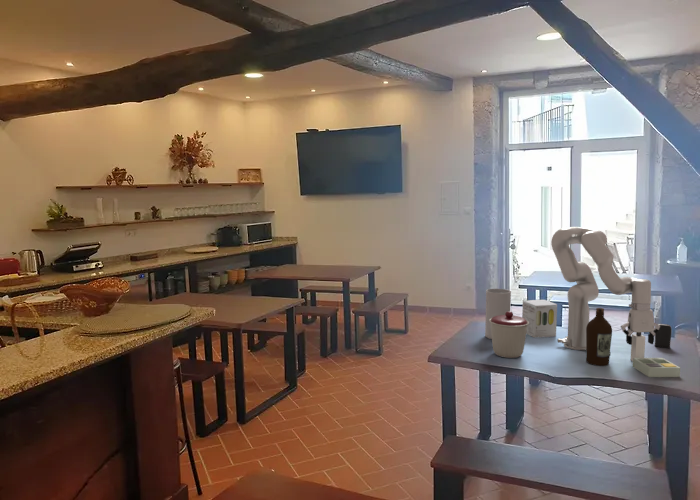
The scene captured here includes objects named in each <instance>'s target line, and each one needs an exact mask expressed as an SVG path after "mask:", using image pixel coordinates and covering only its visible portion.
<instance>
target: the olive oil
mask: <svg viewBox="0 0 700 500" xmlns="http://www.w3.org/2000/svg"><path fill="white" fill-rule="evenodd" d="M612 336H613V329H612V325H611V324H610V323H609V321H608V320H607V319H606V318H605V308H602V307H596V309H595V316H594V317H593V318H591V320H589V323H588V324H587V327H586V350H585V351H586V352H585V354H586V357H585V361H586V363H587V364H589V365H592V366H597V367H598V366H599V367H604V366H605V367H606V366H609V364H610V358H611V357H610V356H611V346H612Z"/></svg>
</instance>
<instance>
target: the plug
mask: <svg viewBox="0 0 700 500" xmlns="http://www.w3.org/2000/svg"><path fill="white" fill-rule="evenodd" d="M631 336H632V344H631V345H630V348H631V349H630V361H632V362H633V358H645V351H646V350H645V349H646V335H645V336H644V335H643V334H642V332H635V334H634V333H632V334H631Z"/></svg>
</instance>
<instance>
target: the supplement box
mask: <svg viewBox="0 0 700 500" xmlns="http://www.w3.org/2000/svg"><path fill="white" fill-rule="evenodd" d="M557 313H558V304H557V303H554V302H552V301H549V300H547V299H531V300H522V314H521V315H522V316H521V317H522V318H524V319H526V320H527V321H529V324H528V325H527V333H526V335H529V336H530V337H532V338H534V339H535V338H551V337H557V326H558V325H557V323H558V322H557V321H558V314H557Z"/></svg>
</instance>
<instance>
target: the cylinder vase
mask: <svg viewBox="0 0 700 500" xmlns="http://www.w3.org/2000/svg"><path fill="white" fill-rule="evenodd" d="M485 291H486V292H485V293H486V294H485V327H484V332H485V333H484V335H485V336H484V337H486V338H487V339H490V340H492V334H491V323H490V322H489V319H491V318H493V317H494V316H498V315H505V313H506V312H507V311H511V308H512V307H511V306H512V305H511V303H512V302H511V301H512V300H511V299H512V297H511V296H512V290H510V289H505V288H487V289H486V290H485Z"/></svg>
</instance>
